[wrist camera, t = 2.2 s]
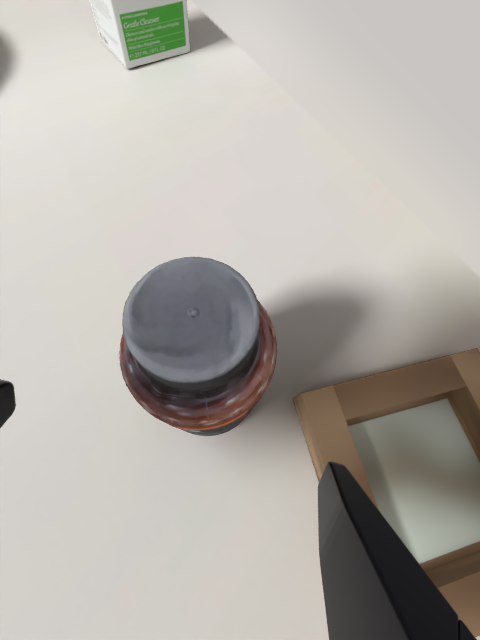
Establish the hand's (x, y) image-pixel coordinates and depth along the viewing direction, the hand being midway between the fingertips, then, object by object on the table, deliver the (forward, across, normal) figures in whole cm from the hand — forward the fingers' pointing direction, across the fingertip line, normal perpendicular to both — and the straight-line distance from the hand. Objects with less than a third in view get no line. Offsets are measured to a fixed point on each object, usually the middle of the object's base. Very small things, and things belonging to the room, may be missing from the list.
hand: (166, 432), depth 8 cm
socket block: (+8, -13, +6) cm, 17 cm away
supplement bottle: (+10, 0, +5) cm, 11 cm away
